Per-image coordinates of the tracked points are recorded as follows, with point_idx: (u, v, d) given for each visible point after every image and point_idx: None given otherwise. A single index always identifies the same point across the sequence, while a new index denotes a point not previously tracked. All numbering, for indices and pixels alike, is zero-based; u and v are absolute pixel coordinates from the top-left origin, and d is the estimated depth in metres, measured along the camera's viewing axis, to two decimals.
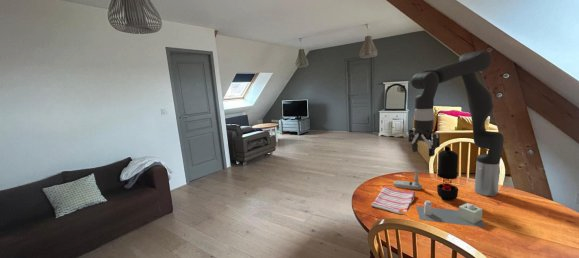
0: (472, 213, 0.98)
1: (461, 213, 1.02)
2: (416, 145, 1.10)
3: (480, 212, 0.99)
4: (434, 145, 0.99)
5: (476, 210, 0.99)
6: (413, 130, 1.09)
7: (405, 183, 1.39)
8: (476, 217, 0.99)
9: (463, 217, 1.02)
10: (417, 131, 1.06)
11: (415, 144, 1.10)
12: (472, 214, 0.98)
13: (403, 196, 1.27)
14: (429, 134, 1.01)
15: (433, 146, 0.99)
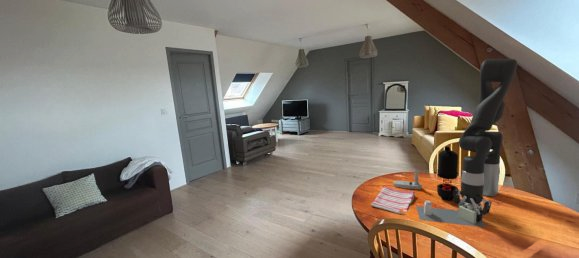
0: (472, 213, 0.98)
1: (461, 213, 1.02)
2: None
3: None
4: None
5: None
6: None
7: (405, 183, 1.39)
8: None
9: (463, 217, 1.02)
10: None
11: None
12: (472, 214, 0.98)
13: (402, 196, 1.27)
14: None
15: None
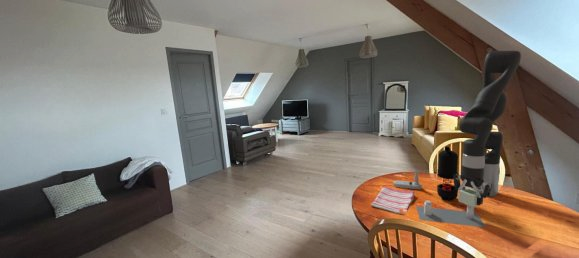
0: (472, 197, 0.97)
1: (461, 197, 1.01)
2: None
3: None
4: None
5: (476, 194, 0.98)
6: (486, 182, 0.95)
7: (405, 183, 1.39)
8: (476, 201, 0.98)
9: (463, 201, 1.01)
10: None
11: None
12: (472, 198, 0.97)
13: (402, 196, 1.27)
14: None
15: (459, 185, 1.05)
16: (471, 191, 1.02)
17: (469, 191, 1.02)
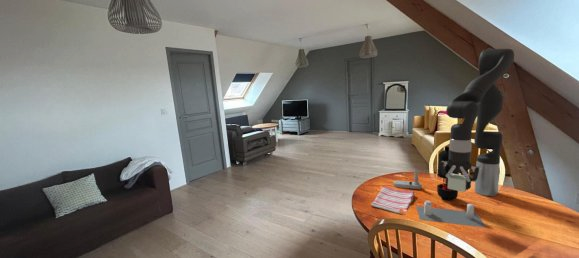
0: (463, 181, 0.96)
1: (451, 184, 1.00)
2: (466, 182, 0.98)
3: None
4: None
5: (465, 178, 0.98)
6: (474, 166, 0.96)
7: (405, 183, 1.39)
8: None
9: (453, 187, 0.99)
10: None
11: None
12: (463, 182, 0.96)
13: (402, 196, 1.27)
14: None
15: None
16: (457, 176, 1.02)
17: (455, 177, 1.02)
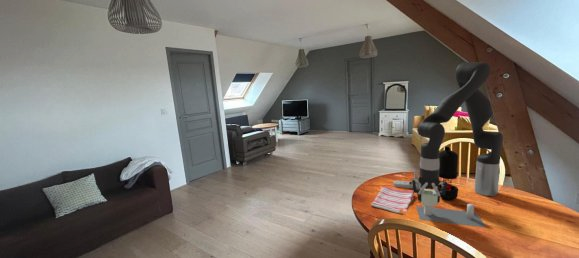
0: (436, 197, 1.02)
1: (425, 200, 1.04)
2: None
3: None
4: None
5: (434, 193, 1.05)
6: None
7: (405, 183, 1.39)
8: None
9: (427, 203, 1.04)
10: None
11: None
12: (436, 198, 1.03)
13: (402, 196, 1.27)
14: None
15: None
16: (425, 191, 1.08)
17: None
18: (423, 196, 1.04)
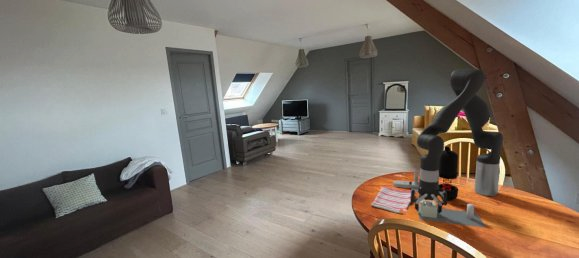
0: (435, 208, 1.04)
1: (424, 211, 1.05)
2: (438, 206, 1.05)
3: None
4: None
5: (434, 204, 1.06)
6: (441, 191, 1.05)
7: (405, 183, 1.39)
8: None
9: (426, 215, 1.05)
10: None
11: (438, 204, 1.06)
12: (435, 209, 1.04)
13: (402, 196, 1.28)
14: None
15: None
16: None
17: (423, 203, 1.09)
18: (423, 207, 1.05)
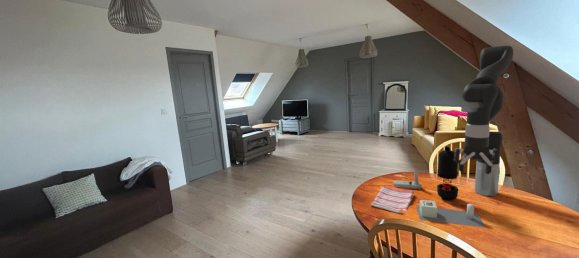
0: (435, 208, 1.04)
1: (424, 211, 1.05)
2: (486, 166, 0.94)
3: None
4: None
5: (434, 204, 1.06)
6: (490, 149, 0.93)
7: (405, 183, 1.39)
8: None
9: (426, 215, 1.05)
10: None
11: (486, 165, 0.95)
12: (435, 209, 1.04)
13: (401, 196, 1.28)
14: None
15: None
16: None
17: (423, 203, 1.09)
18: (423, 207, 1.05)
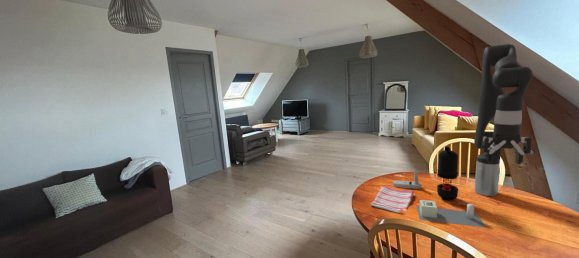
0: (435, 208, 1.04)
1: (424, 211, 1.05)
2: (517, 156, 0.89)
3: None
4: None
5: (434, 204, 1.06)
6: (522, 137, 0.88)
7: (405, 183, 1.39)
8: None
9: (426, 215, 1.05)
10: None
11: (517, 154, 0.90)
12: (435, 209, 1.04)
13: (401, 195, 1.28)
14: None
15: None
16: None
17: (423, 203, 1.09)
18: (423, 207, 1.05)
